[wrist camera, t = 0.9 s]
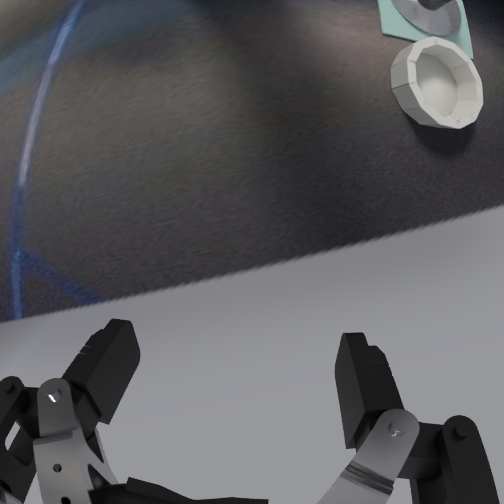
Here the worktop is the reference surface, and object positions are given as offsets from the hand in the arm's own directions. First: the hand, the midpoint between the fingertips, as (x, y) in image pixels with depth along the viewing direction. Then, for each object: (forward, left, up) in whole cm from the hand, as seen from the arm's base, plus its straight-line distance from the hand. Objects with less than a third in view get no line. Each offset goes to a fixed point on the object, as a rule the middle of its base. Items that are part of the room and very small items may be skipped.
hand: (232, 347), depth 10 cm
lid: (-28, +22, -25) cm, 44 cm away
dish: (-15, +21, -26) cm, 36 cm away
